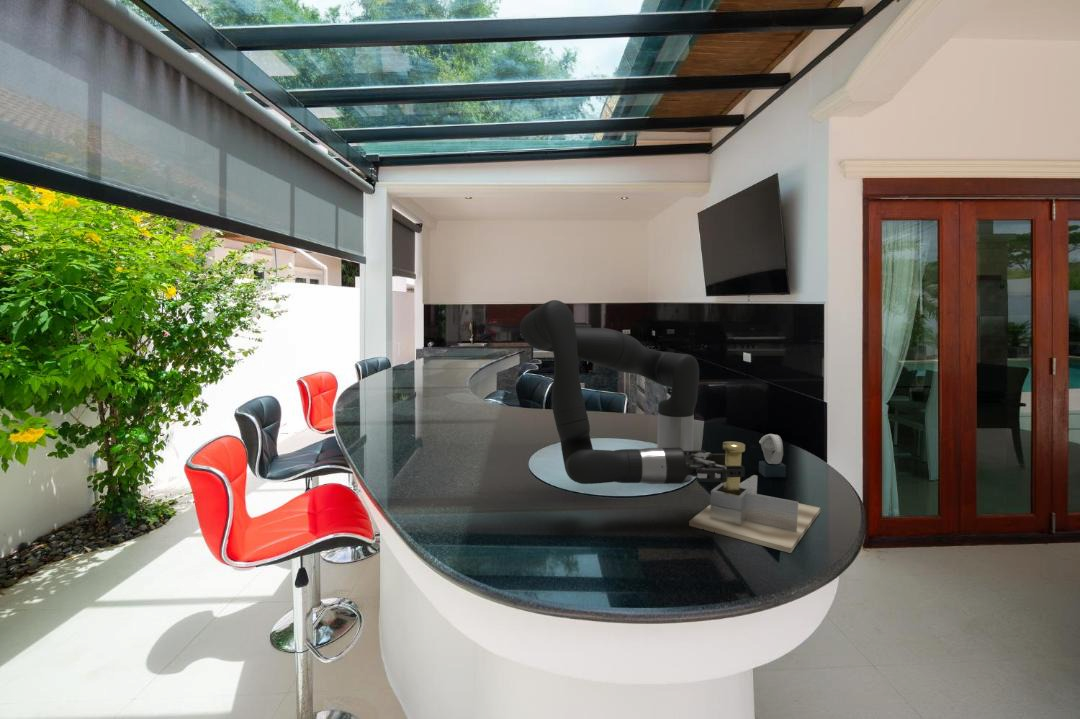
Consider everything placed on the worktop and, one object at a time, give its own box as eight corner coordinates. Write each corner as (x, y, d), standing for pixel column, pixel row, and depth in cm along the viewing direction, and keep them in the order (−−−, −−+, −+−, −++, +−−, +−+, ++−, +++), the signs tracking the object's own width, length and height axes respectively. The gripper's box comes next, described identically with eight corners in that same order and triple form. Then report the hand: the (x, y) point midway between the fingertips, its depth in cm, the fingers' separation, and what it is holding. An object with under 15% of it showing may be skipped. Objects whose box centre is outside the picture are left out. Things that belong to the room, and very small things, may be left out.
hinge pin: (723, 511, 119) (727, 440, 117) (743, 516, 116) (748, 443, 114) (715, 517, 115) (719, 444, 113) (736, 522, 112) (741, 448, 111)
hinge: (735, 496, 128) (736, 471, 127) (810, 512, 118) (812, 486, 117) (709, 517, 115) (710, 490, 114) (791, 538, 105) (792, 509, 104)
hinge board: (730, 492, 133) (730, 488, 133) (820, 512, 121) (820, 507, 120) (689, 525, 114) (689, 521, 113) (790, 553, 101) (790, 548, 101)
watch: (775, 469, 150) (777, 431, 149) (788, 479, 142) (790, 438, 141) (755, 469, 151) (757, 431, 149) (767, 479, 143) (768, 438, 141)
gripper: (669, 458, 106) (751, 457, 107) (652, 439, 121) (724, 438, 121) (668, 495, 107) (749, 494, 108) (652, 472, 121) (723, 471, 122)
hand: (736, 464), depth 114 cm, fingers open, 8 cm apart
